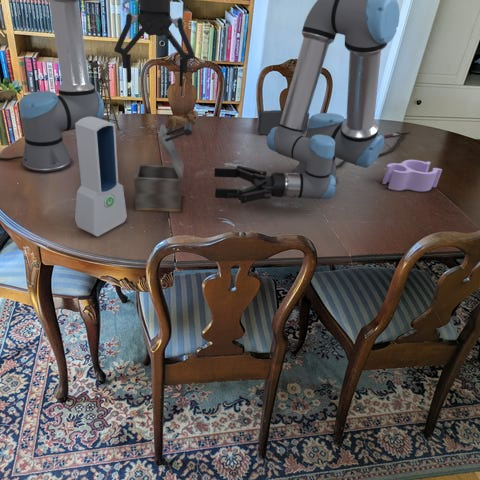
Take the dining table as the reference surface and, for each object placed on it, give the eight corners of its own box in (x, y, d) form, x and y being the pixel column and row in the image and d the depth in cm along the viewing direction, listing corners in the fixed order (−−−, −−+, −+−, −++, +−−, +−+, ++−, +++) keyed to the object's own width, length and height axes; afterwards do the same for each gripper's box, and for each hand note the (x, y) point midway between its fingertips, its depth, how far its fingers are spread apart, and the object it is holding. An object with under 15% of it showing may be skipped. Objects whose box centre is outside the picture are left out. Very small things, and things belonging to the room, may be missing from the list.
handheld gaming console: (303, 131, 211) (307, 109, 206) (306, 133, 209) (310, 111, 204) (256, 132, 204) (259, 110, 199) (258, 135, 202) (261, 112, 197)
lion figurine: (195, 128, 201) (196, 108, 196) (199, 133, 197) (200, 112, 192) (162, 130, 196) (162, 108, 191) (164, 134, 192) (165, 113, 187)
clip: (395, 193, 165) (400, 176, 161) (376, 178, 175) (380, 161, 171) (440, 190, 171) (447, 172, 167) (419, 175, 181) (425, 158, 177)
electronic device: (94, 238, 124) (84, 130, 108) (75, 229, 127) (62, 122, 111) (127, 220, 133) (123, 118, 117) (108, 212, 136) (101, 111, 120)
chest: (135, 209, 139) (134, 177, 134) (139, 194, 147) (138, 164, 142) (180, 211, 141) (181, 180, 135) (181, 196, 149) (182, 166, 143)
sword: (405, 131, 224) (406, 128, 224) (410, 133, 222) (411, 130, 222) (362, 142, 208) (362, 140, 208) (367, 144, 206) (368, 142, 206)
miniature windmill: (110, 136, 185) (105, 57, 169) (90, 133, 186) (84, 54, 170) (120, 129, 193) (116, 52, 177) (100, 125, 194) (95, 49, 178)
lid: (158, 136, 127) (186, 125, 126) (160, 124, 135) (187, 113, 134) (179, 179, 135) (207, 168, 134) (181, 165, 143) (206, 155, 142)
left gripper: (99, -10, 108) (104, 83, 120) (206, 0, 111) (202, 90, 122) (104, -13, 115) (109, 75, 126) (206, -3, 117) (202, 83, 129)
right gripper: (288, 216, 135) (215, 214, 133) (277, 177, 156) (213, 175, 153) (292, 193, 131) (216, 190, 129) (280, 157, 151) (214, 154, 149)
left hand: (155, 83), depth 124 cm, fingers open, 13 cm apart
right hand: (214, 182), depth 141 cm, fingers open, 13 cm apart
